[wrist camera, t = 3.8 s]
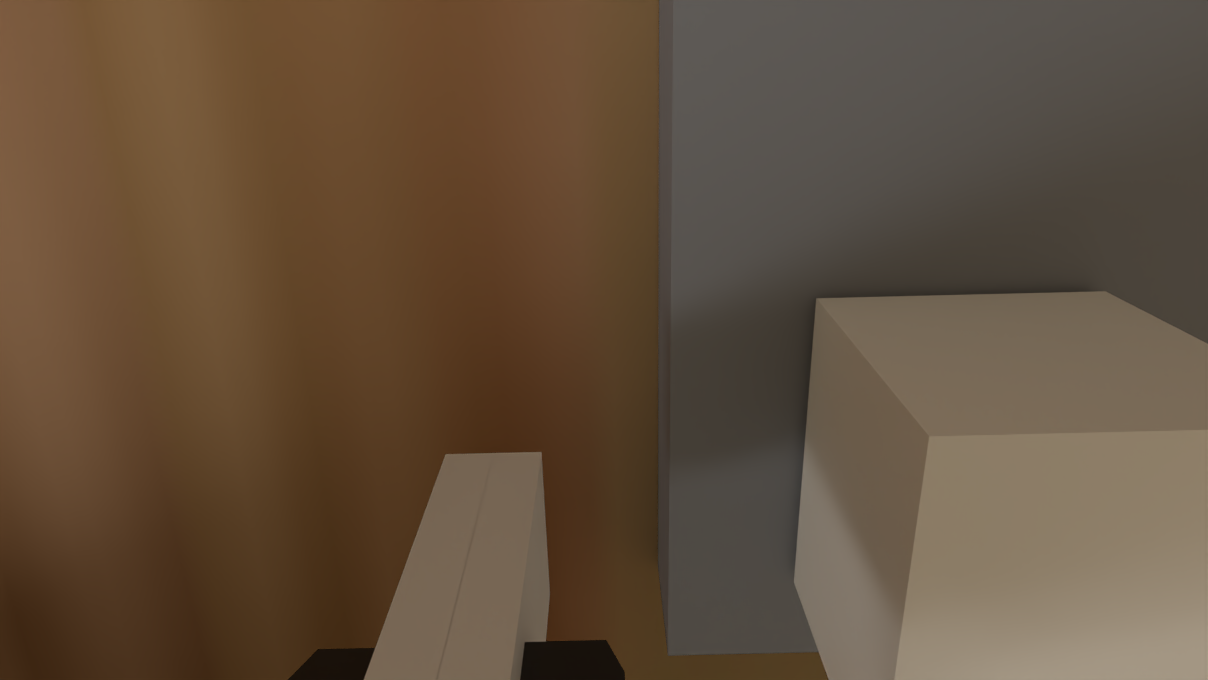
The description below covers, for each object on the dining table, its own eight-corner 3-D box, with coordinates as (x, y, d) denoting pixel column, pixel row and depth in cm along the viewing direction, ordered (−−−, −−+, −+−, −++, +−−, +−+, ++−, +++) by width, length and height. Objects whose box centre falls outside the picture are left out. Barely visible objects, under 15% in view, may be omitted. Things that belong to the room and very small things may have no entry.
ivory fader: (794, 582, 16) (875, 810, 11) (816, 298, 14) (929, 436, 9) (1042, 576, 16) (1229, 803, 11) (1105, 291, 14) (1368, 426, 9)
